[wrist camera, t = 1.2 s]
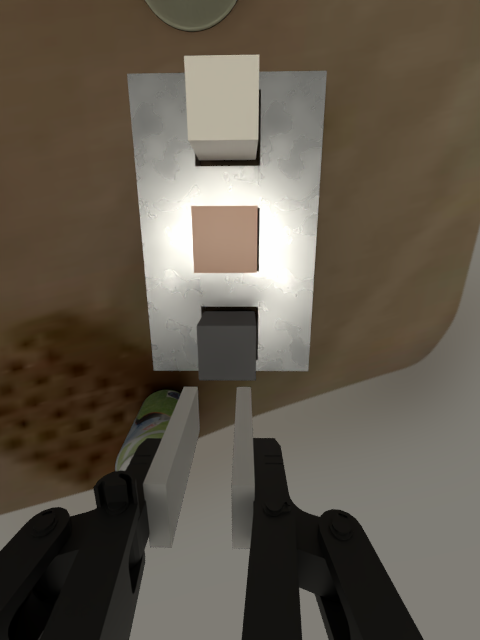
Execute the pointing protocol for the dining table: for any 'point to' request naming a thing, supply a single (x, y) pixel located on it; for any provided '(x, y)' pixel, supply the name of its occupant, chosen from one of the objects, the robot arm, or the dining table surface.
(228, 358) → the charcoal key
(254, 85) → the cream key
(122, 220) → the dining table surface
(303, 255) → the key panel
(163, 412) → the beverage can
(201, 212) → the terracotta key
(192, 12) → the can
